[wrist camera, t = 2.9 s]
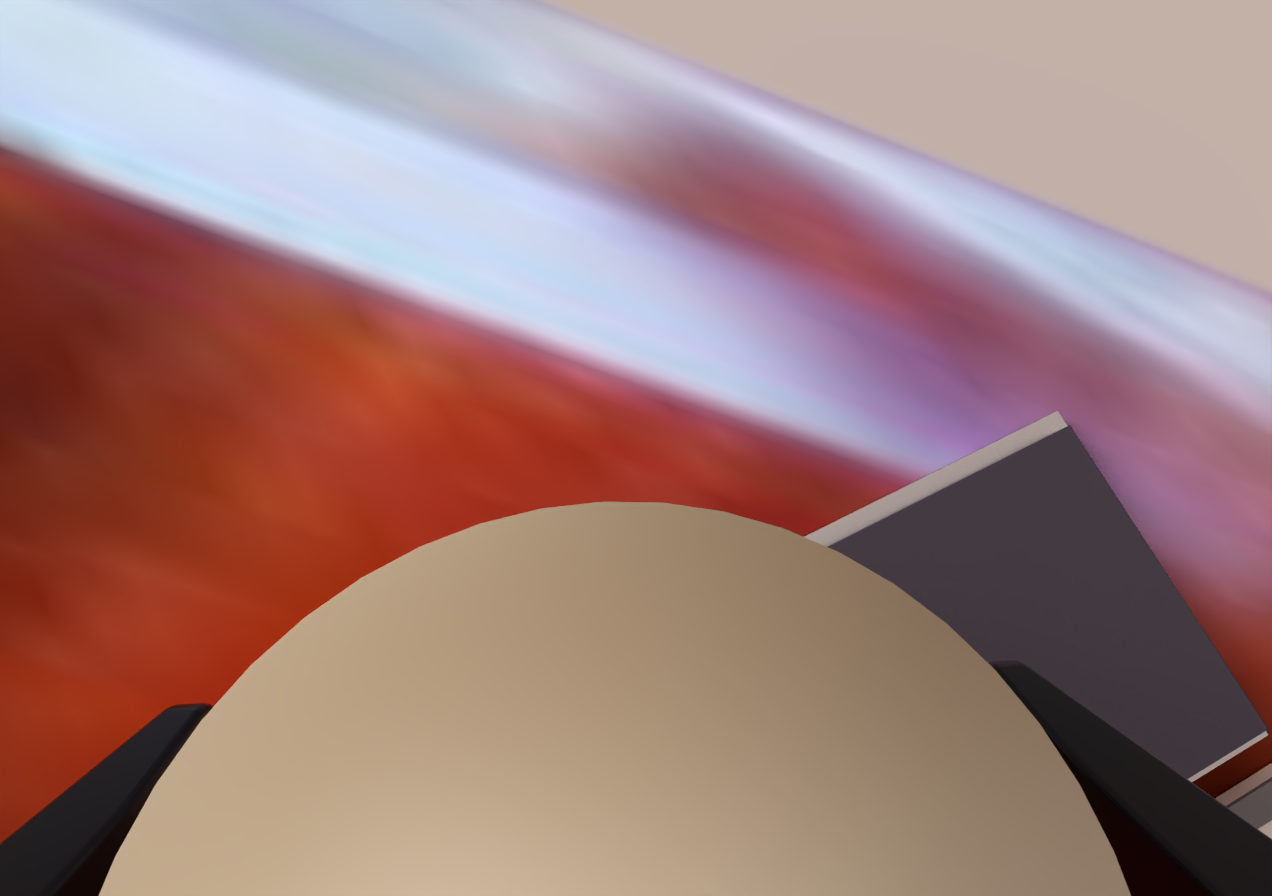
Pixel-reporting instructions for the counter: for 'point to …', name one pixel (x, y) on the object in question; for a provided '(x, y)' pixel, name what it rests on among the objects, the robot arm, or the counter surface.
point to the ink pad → (1058, 590)
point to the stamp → (619, 733)
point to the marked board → (1252, 800)
